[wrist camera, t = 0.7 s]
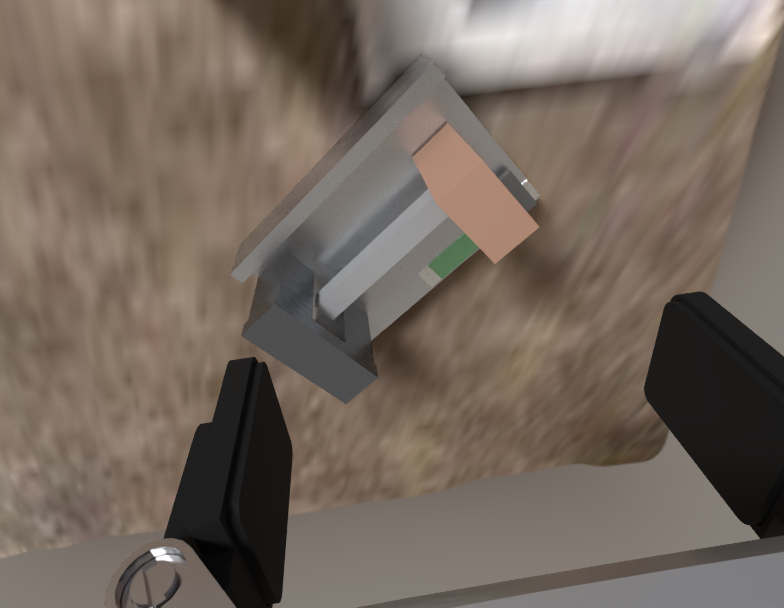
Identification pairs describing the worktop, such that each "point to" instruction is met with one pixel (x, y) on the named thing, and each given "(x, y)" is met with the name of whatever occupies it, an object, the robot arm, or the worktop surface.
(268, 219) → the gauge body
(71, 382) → the worktop surface
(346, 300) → the plunger
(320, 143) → the worktop surface
